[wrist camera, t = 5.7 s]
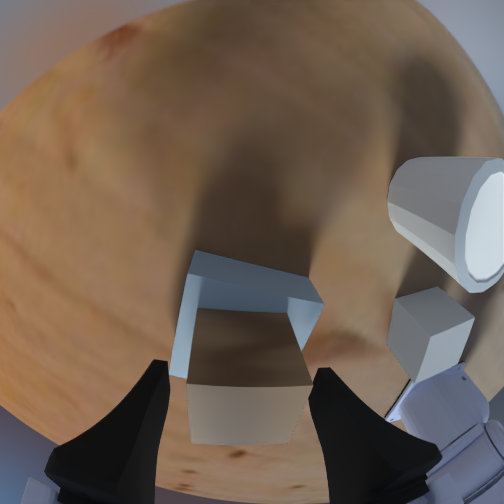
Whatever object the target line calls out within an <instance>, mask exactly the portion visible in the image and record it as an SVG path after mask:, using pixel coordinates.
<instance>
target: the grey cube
mask: <svg viewBox="0 0 504 504" xmlns="http://www.w3.org/2000/svg"><path fill="white" fill-rule="evenodd" d="M474 319H475V317H474V316H473V315H472V314H471V313H470V312H468V311H467V310H466V309H465V308H464V307H463V306H461V305H460V304H459V303H458V302H457V301H455V300H454V299H453V298H452V297H450V296H449V295H448V294H447V293H446V292H444V291H443V290H442V289H440V288H439V287H438V286H437V287H433V288H430V289H427V290H423V291H420V292H416V293H413V294H409V295H406V296H402V297H398V298H395V299H394V306H393V312H392V318H391V324H390V329H389V335H388V340H387V346H388V347H389V349H390V350H391V351H392V353H393V354H394V356H395V357H396V358H397V360H398V361H399V363H400V364H401V366H402V367H403V368H404V370H405V371H406V373H407V374H408V376H409V377H410V379H411V380H412V382H413V383H414V384H416V383H418V382H421V381H423V380H425V379H428V378H430V377H432V376H434V375H436V374H438V373H440V372H443V371H445V370H447V369H449V368H451V367H452V366H454V365H456V364H458V361H459V359H460V357H461V354H462V352H463V349H464V347H465V344H466V342H467V339H468V336H469V334H470V331H471V328H472V325H473V322H474Z"/></svg>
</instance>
